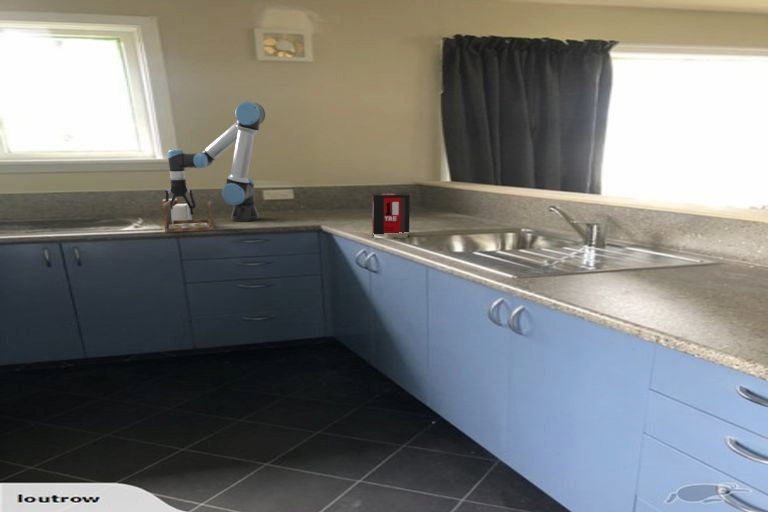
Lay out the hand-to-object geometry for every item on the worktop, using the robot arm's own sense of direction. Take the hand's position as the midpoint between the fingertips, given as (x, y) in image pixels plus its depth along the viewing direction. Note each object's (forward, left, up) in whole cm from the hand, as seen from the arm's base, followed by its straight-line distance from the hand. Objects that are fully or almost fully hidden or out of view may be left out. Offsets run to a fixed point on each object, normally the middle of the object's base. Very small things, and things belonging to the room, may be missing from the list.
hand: (182, 220), depth 272 cm
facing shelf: (-7, +18, -1) cm, 19 cm away
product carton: (0, 0, -1) cm, 1 cm away
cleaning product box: (-103, +61, -2) cm, 120 cm away
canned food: (+9, -20, -2) cm, 22 cm away
